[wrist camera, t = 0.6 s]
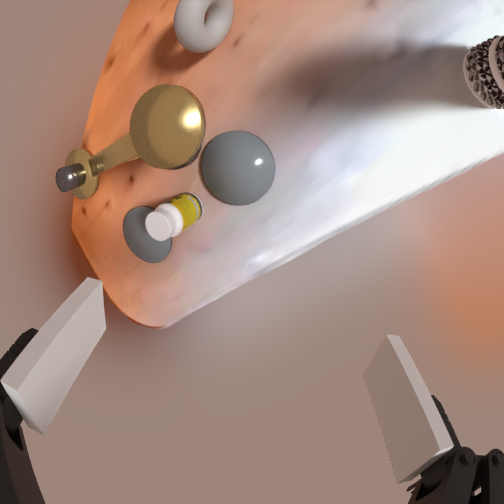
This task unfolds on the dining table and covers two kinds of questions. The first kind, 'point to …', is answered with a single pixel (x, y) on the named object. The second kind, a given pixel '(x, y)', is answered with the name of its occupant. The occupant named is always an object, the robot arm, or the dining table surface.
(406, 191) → the dining table surface
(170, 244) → the dish low
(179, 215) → the supplement bottle
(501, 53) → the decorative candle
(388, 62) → the dining table surface
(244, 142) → the glossy grey puck
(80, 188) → the balance
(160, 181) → the dining table surface
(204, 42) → the donut
